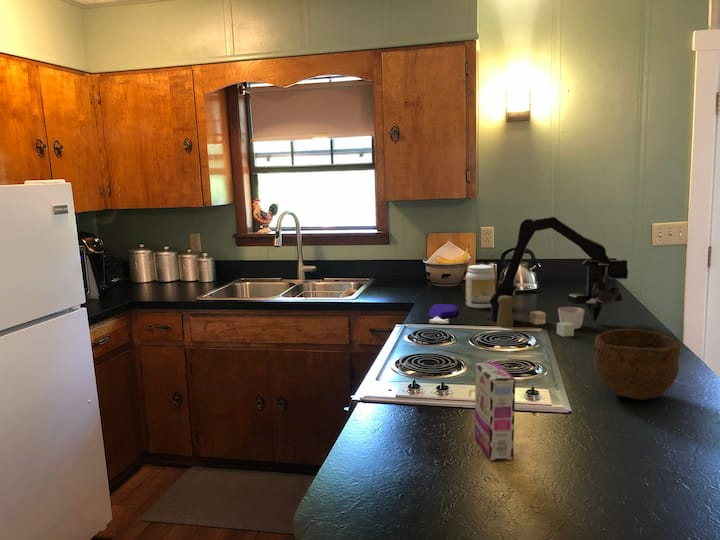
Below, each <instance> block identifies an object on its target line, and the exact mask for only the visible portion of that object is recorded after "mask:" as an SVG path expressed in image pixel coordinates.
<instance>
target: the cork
mask: <svg viewBox="0 0 720 540" xmlns="http://www.w3.org/2000/svg"><path fill="white" fill-rule="evenodd" d="M513 301H514V300H513V297H512V296H506V295H504V296H500V297H499V298H498V303H499V312H498V319H497V321H496V326H497V327H499V326H501V327H500V328H512V327H514V320H513V311H512V304H513Z"/></svg>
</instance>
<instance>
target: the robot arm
mask: <svg viewBox="0 0 720 540" xmlns="http://www.w3.org/2000/svg"><path fill="white" fill-rule="evenodd" d="M547 229H548V230H549V229H552V230H554V231H555V232H557V233H558V234H560V235H561V236H563V237H565V238H566V239H568V240H569V241H570V242H572V243H574V244H575V245H576V246H578V247H579V248H580V250H582V251H583V252H584V253H585V254H586V255H587V256H588V257H589V258H590V259H591V260H589V259H588V258H586V260H585V261H583V262H582V267H583V266H584V267H587V277H586V279H584V283H585V284H587V285H586V290H585V291H584V294H582V293H579V292H578V293H569V295H568V297H567V302H568V303H572V304H575V305H582V304H583V305H585V307H586V309H587V311H588V314H589V316H590V318H591V320H592V321H593V322H596V321H597V319H598V317H599V316H600V313H601V311H602V308H603V307H604V306H606V305H608V304H609V303H613V302H622V301H623V295H622V292H620V288H618V287H616V286H615V287H614V286H613V287H608V283H607V281H605V276H606V277H609V279H611V280H612V279H613V280H628V277H629V276H628V275H629V274H628V273H629V270H628V260H627V259H619V260H618V259H616V260H615V259H611V257H610V256H608V255H607V251H606V247H605V246H604V245H603V244H602V243H601V242H598V241H595V240H594V239H591V238H588V237H586V236H584V235H582V234H581V233H580V232H577V231H576V230H575V229H573V228H572V227H570V226H568V225H567V224H565V223H564V222H563V221H561V220H559V218H557V217H556V216H550V217H545V218H538V219H534V218H530V217H529V218H526V219H524V220H523V221H521V222H520V225H519V230H518V231H519V232H518V237H517V243H516V246H515V249H514V251H513V254H512V256H511V259H510V262H509V265H508V268H507V270H506V273H505V276H504V277H503V279H502V281H501V282H500V284H499V286H498V287H497V289H496V290H495V294H494V295H493V296H492V298H491V299H490V303H491V307H490V312H491V313H490V316H487V319H489V320H491V321H493V322H497V319H498V312H499V303H498V298H499V297H500V296H504V295H506V296H511V297H512V298H513V297H514V295H515V293H516V292H515V290H516V288H517V287H518V284H519V283H516V282H515V281H516V277H517V274H518V271H519V269H520V265H521V263H522V260H523V258H524V255H525V253H526V249H527V247H528V244H529V243H530V241H531V239H532V238H533V236H534V234H535V232H538V231H543V230H547ZM599 262H601V263H599ZM605 272H606V274H605Z"/></svg>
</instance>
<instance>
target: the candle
mask: <svg viewBox="0 0 720 540" xmlns="http://www.w3.org/2000/svg"><path fill="white" fill-rule="evenodd" d="M557 311H558V318H559V323H560V322H569V323H572V324H574V330H576V329H580V328H581V327H582V326H583V325H582V324H583V320H584V317H585V311H586V309H584V308H582V307H576V306H575V307H574V306H562V307H559V308H557Z"/></svg>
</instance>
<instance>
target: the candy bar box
mask: <svg viewBox="0 0 720 540" xmlns="http://www.w3.org/2000/svg"><path fill="white" fill-rule="evenodd" d="M474 387H475V389H474V390H475V391H474V392H475V393H474V394H475V395H474V398H475V400H474V403H475V405H474V438H475V440H476V442H477V443H478V444H479V446H480V448H481V449H482V451H483V453H484V454H485V455H486V457H487V458H488V460H489V462H497V461H498V462H503V461H504V462H505V461H506V462H507V461H513V460H514V445H515V443H514V439H515V438H514V437H515V433H514V432H515V410H516V409H515V407H516V406H515V405H516V404H515V402H516V401H515V400H516V399H515V398H516V378H514V376H513V375H512V374H510V373H509V371H507V369H505V368H504V367H503V366H502V365H501V364H499V362H494V361H493V362H476V363H475V386H474Z"/></svg>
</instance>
